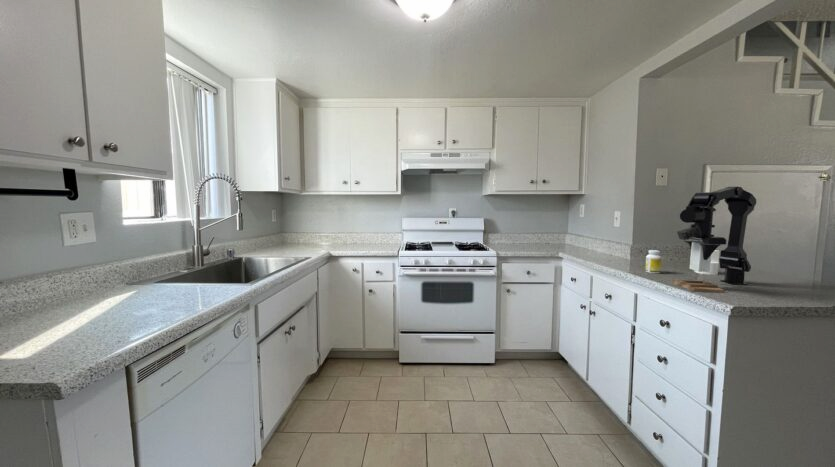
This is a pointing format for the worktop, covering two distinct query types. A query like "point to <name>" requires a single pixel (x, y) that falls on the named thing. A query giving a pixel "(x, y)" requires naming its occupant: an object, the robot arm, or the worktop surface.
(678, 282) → the wooden slatted trivet
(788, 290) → the worktop surface
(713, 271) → the cylinder with rectangular tab
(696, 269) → the skincare box
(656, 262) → the pill bottle
